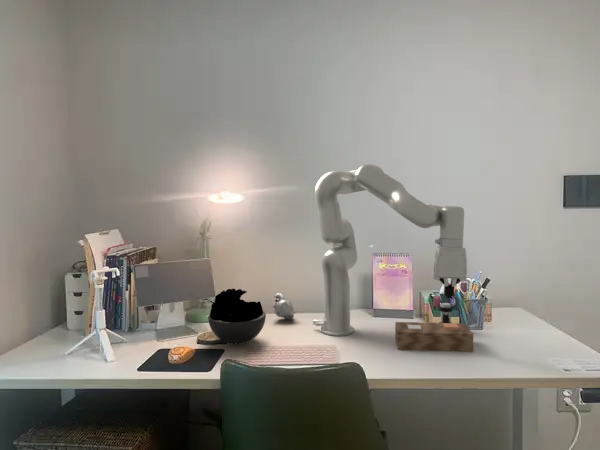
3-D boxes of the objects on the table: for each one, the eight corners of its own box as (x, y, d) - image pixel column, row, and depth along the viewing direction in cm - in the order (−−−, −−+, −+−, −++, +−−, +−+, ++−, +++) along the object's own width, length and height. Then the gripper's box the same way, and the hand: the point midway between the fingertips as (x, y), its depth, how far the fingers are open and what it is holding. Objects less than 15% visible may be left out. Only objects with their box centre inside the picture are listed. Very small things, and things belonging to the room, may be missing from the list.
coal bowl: (236, 331, 178) (235, 282, 177) (277, 340, 166) (276, 288, 165) (196, 345, 162) (195, 292, 160) (239, 356, 150) (238, 299, 149)
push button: (454, 328, 178) (454, 302, 177) (458, 332, 173) (458, 305, 172) (436, 327, 178) (437, 302, 178) (439, 332, 173) (440, 305, 172)
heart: (289, 325, 184) (291, 294, 185) (268, 322, 188) (270, 292, 189) (299, 323, 193) (302, 294, 194) (279, 320, 197) (281, 292, 198)
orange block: (445, 344, 156) (445, 326, 156) (442, 340, 160) (442, 323, 160) (458, 344, 155) (458, 327, 155) (456, 340, 160) (456, 323, 159)
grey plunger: (408, 345, 158) (408, 328, 157) (407, 341, 162) (407, 324, 162) (421, 346, 157) (421, 328, 157) (420, 342, 161) (420, 325, 161)
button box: (397, 349, 155) (397, 332, 154) (395, 338, 166) (395, 321, 166) (473, 352, 151) (473, 333, 151) (465, 340, 163) (465, 323, 163)
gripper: (429, 244, 153) (427, 299, 154) (477, 245, 151) (474, 301, 152) (426, 241, 160) (424, 294, 162) (471, 242, 158) (469, 296, 160)
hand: (448, 297), depth 157 cm, fingers closed
